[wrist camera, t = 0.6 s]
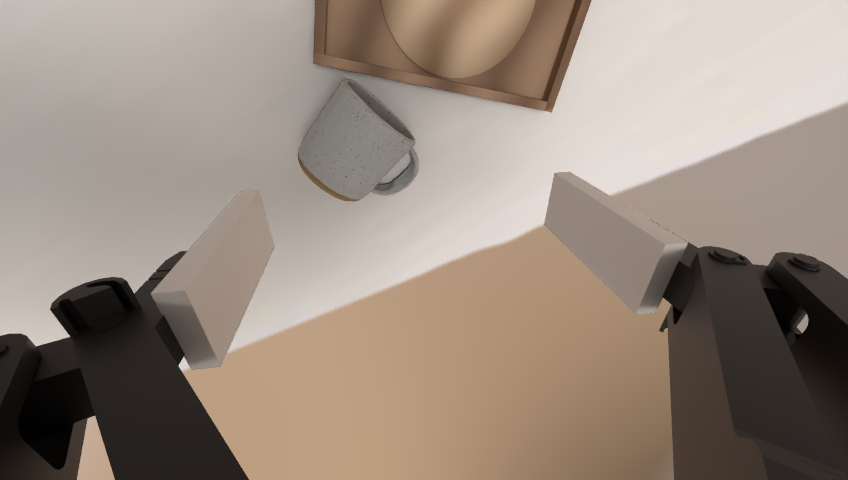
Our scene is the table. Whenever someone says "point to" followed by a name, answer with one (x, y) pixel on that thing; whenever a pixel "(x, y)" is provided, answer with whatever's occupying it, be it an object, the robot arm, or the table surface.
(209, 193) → the table surface
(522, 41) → the tray
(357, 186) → the ceramic mug
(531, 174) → the table surface
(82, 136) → the table surface
